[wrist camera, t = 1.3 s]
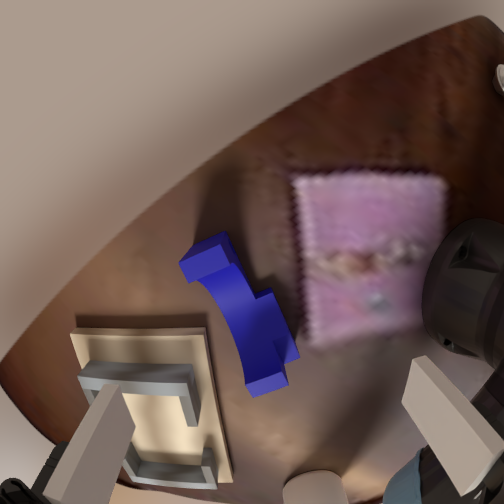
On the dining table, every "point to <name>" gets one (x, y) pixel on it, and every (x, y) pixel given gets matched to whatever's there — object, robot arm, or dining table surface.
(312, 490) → the alcohol
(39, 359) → the dining table surface
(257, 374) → the cable clip
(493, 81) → the screw
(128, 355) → the board
